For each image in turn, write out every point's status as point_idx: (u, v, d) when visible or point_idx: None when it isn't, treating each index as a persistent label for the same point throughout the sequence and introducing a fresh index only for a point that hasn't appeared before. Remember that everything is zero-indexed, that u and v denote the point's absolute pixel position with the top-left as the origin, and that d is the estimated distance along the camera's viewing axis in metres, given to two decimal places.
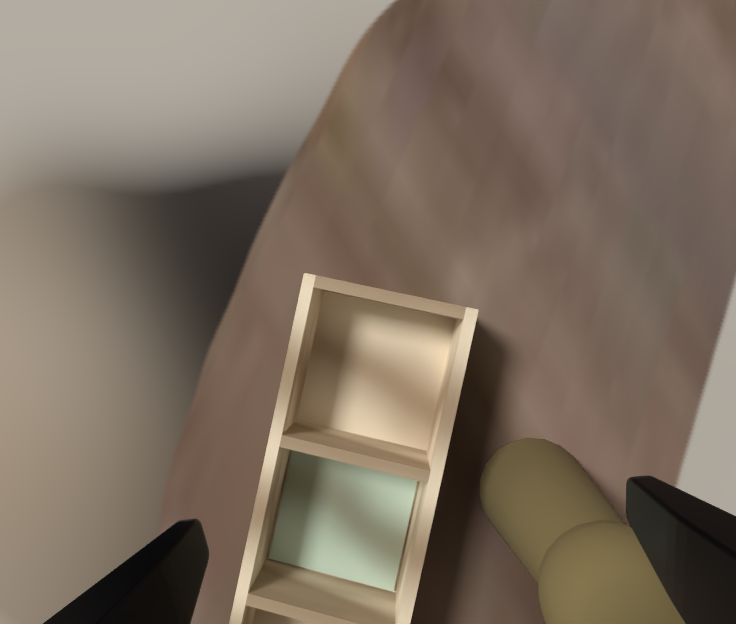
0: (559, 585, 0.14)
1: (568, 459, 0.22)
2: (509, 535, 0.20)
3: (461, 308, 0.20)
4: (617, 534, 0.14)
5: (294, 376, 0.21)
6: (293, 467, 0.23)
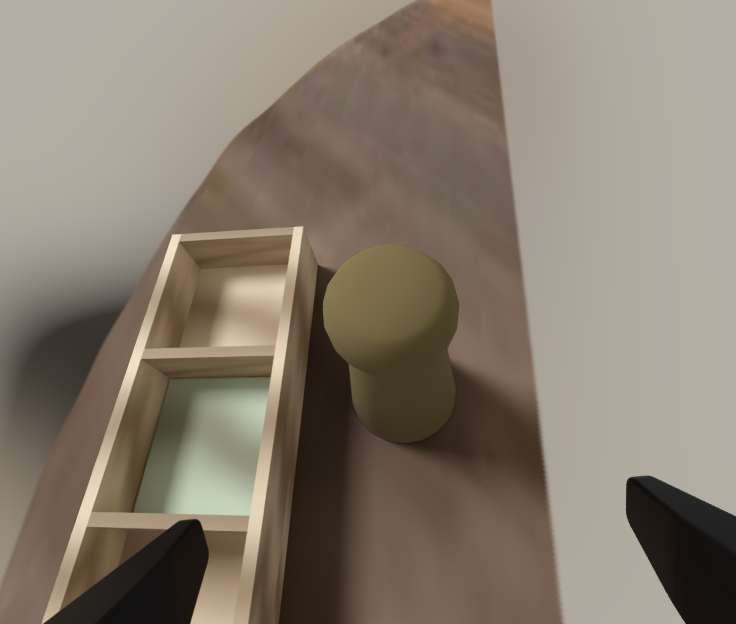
0: (326, 292, 0.16)
1: None
2: (350, 377, 0.20)
3: (290, 228, 0.26)
4: None
5: (160, 303, 0.24)
6: (166, 410, 0.24)
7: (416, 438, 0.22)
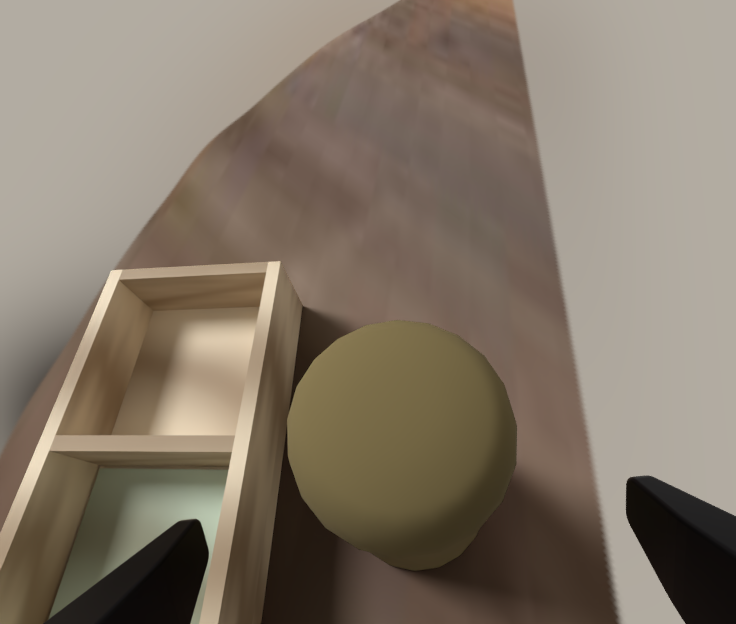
0: (293, 399, 0.10)
1: None
2: None
3: (264, 264, 0.20)
4: None
5: (85, 367, 0.18)
6: (89, 514, 0.18)
7: (433, 566, 0.16)
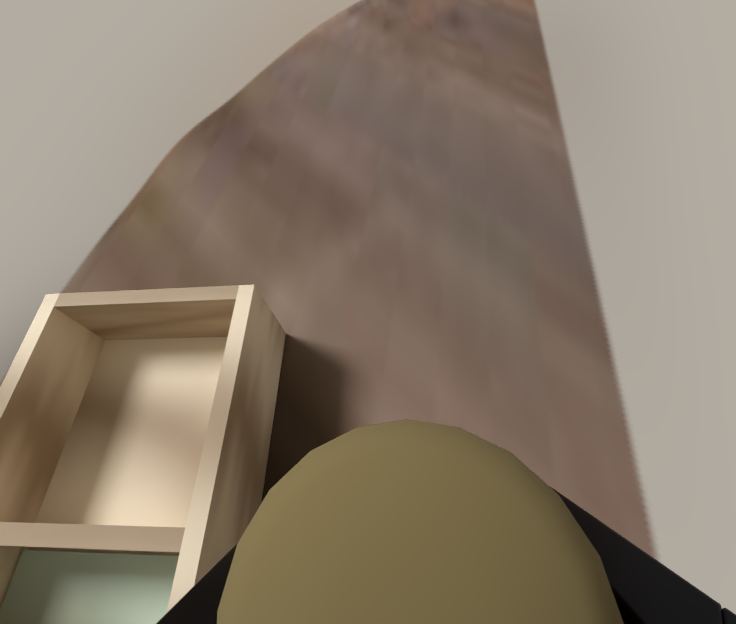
0: None
1: None
2: None
3: (233, 288, 0.16)
4: None
5: (1, 423, 0.14)
6: (5, 615, 0.14)
7: None
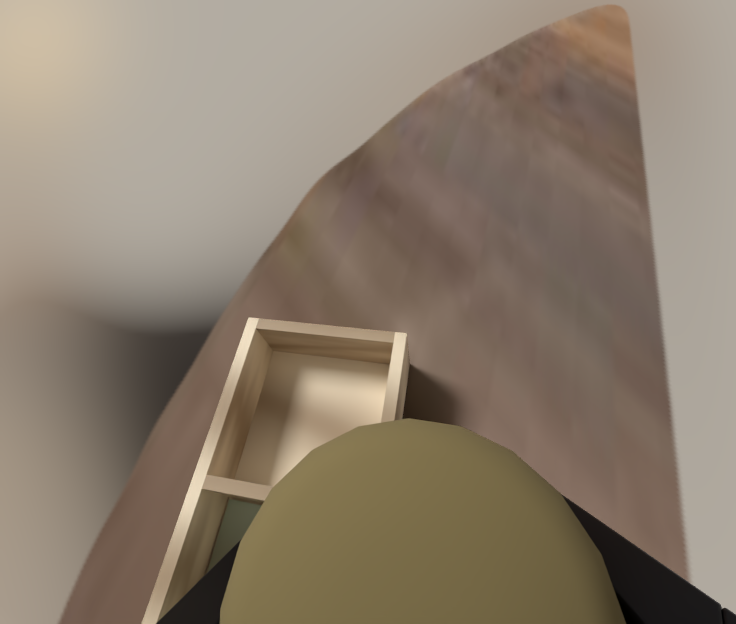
0: (234, 564, 0.06)
1: None
2: None
3: (390, 333, 0.21)
4: None
5: (228, 411, 0.20)
6: (222, 541, 0.20)
7: None
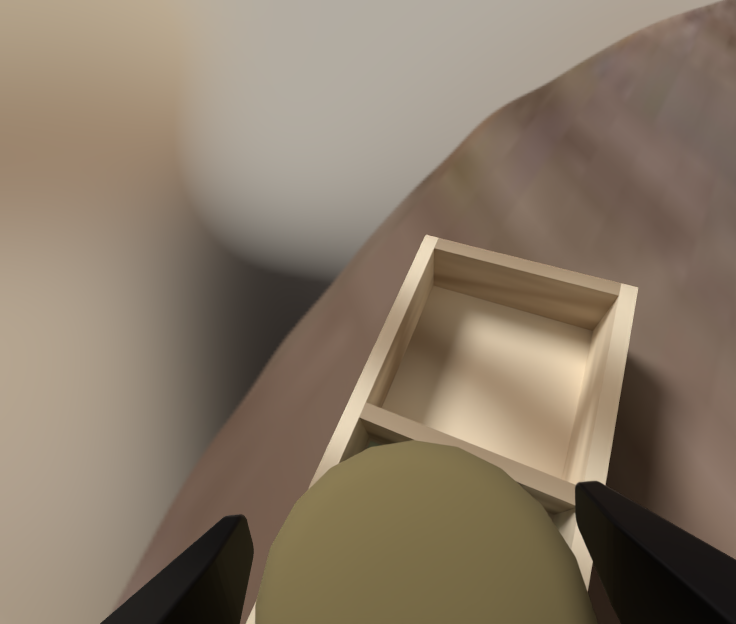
0: (265, 567, 0.07)
1: None
2: None
3: (614, 284, 0.16)
4: None
5: (395, 335, 0.17)
6: None
7: None
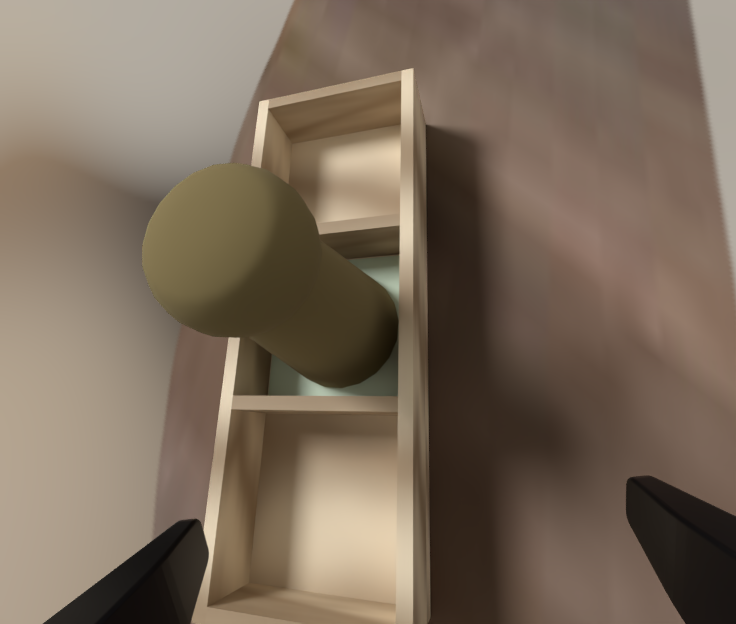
0: None
1: None
2: None
3: (397, 73, 0.21)
4: None
5: None
6: None
7: (368, 372, 0.19)
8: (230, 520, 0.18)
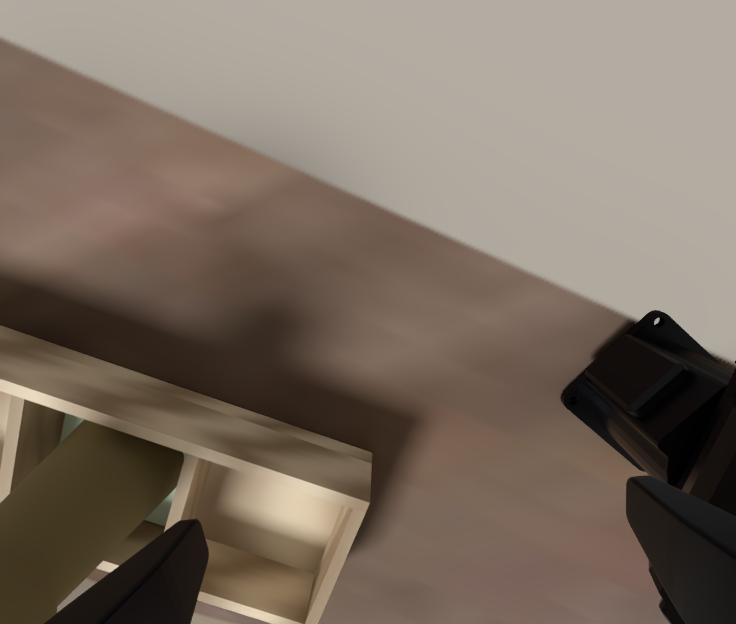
0: None
1: None
2: None
3: None
4: None
5: None
6: None
7: (174, 449, 0.22)
8: (256, 590, 0.22)
